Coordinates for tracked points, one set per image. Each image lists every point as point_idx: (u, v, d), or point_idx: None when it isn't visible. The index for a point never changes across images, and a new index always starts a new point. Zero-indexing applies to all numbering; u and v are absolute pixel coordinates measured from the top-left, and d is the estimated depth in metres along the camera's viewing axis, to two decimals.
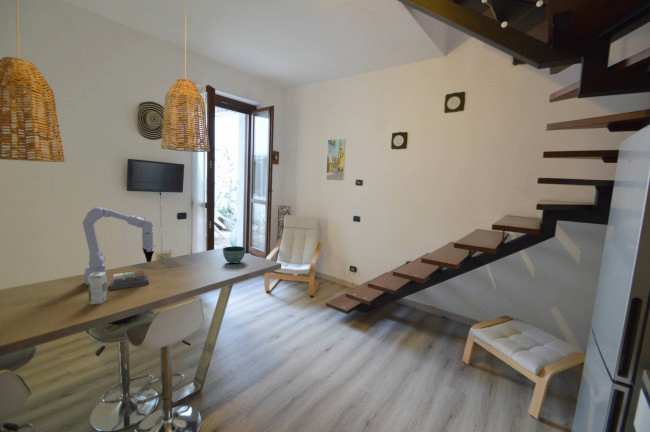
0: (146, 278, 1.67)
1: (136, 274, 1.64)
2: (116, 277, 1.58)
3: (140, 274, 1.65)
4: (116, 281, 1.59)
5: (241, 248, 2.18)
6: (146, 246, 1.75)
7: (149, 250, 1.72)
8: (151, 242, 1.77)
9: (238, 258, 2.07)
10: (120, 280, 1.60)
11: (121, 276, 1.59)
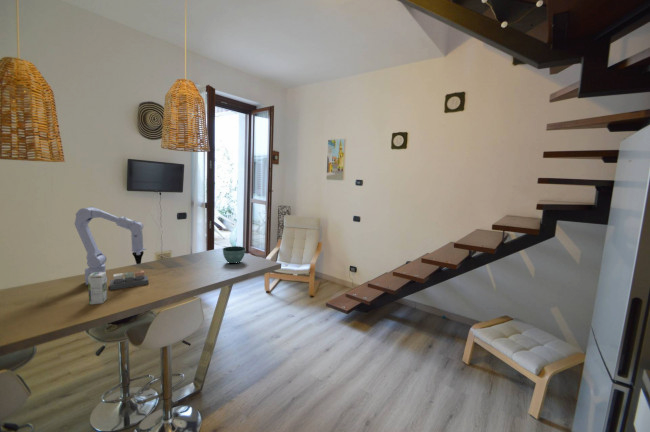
0: (146, 278, 1.67)
1: (136, 274, 1.64)
2: (116, 277, 1.58)
3: (140, 274, 1.65)
4: (116, 281, 1.59)
5: (241, 248, 2.18)
6: (136, 249, 1.68)
7: (138, 253, 1.66)
8: (141, 245, 1.70)
9: (238, 258, 2.07)
10: (120, 280, 1.60)
11: (121, 276, 1.59)
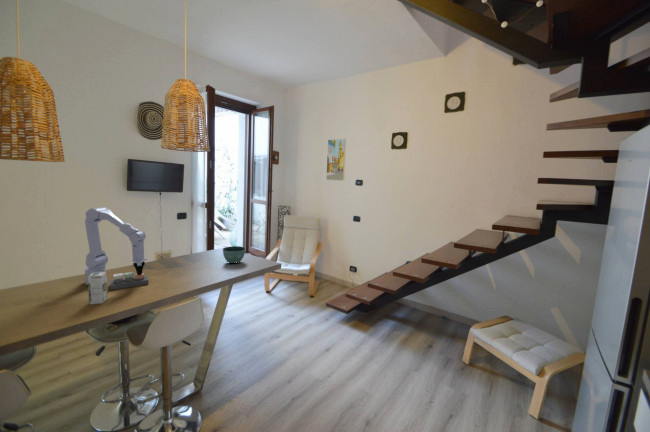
0: (146, 278, 1.67)
1: (136, 277, 1.64)
2: (116, 277, 1.58)
3: (140, 277, 1.65)
4: (116, 281, 1.59)
5: (241, 248, 2.18)
6: (137, 259, 1.62)
7: (140, 264, 1.60)
8: (142, 255, 1.64)
9: (238, 258, 2.07)
10: (120, 280, 1.60)
11: (121, 276, 1.59)
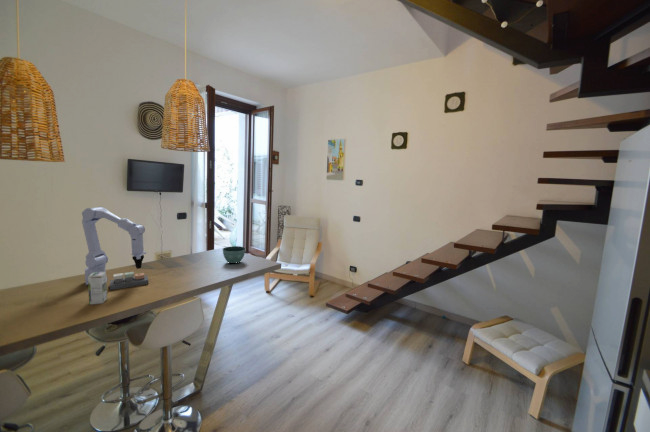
0: (146, 278, 1.67)
1: (136, 277, 1.64)
2: (116, 277, 1.58)
3: (140, 277, 1.65)
4: (116, 281, 1.59)
5: (241, 248, 2.18)
6: (136, 253, 1.62)
7: (139, 257, 1.59)
8: (141, 249, 1.64)
9: (238, 258, 2.07)
10: (120, 280, 1.60)
11: (121, 276, 1.59)
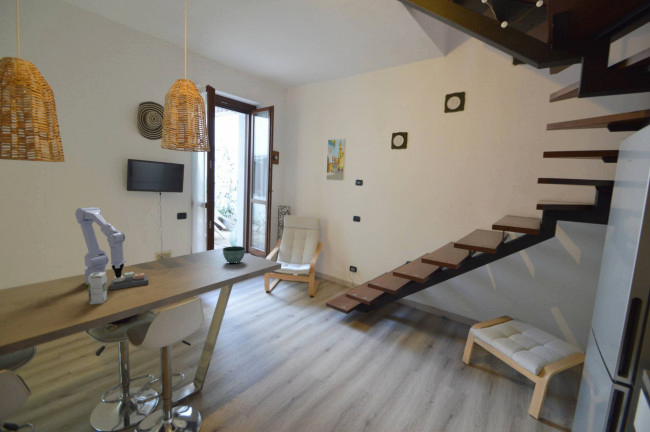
0: (146, 278, 1.67)
1: (136, 277, 1.64)
2: (116, 279, 1.58)
3: (140, 277, 1.65)
4: None
5: (241, 248, 2.18)
6: (115, 262, 1.57)
7: (118, 266, 1.54)
8: (121, 257, 1.58)
9: (238, 258, 2.07)
10: (120, 282, 1.60)
11: (121, 278, 1.60)
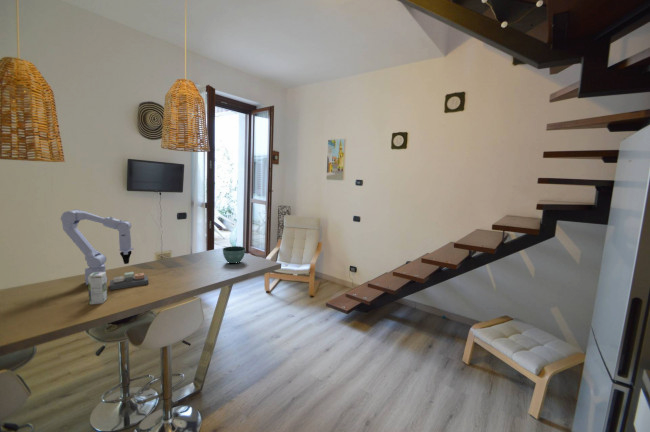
0: (146, 278, 1.67)
1: (136, 277, 1.64)
2: (116, 280, 1.58)
3: (140, 277, 1.65)
4: None
5: (241, 248, 2.18)
6: (123, 249, 1.66)
7: (126, 253, 1.64)
8: (129, 244, 1.68)
9: (238, 258, 2.07)
10: None
11: (121, 279, 1.60)
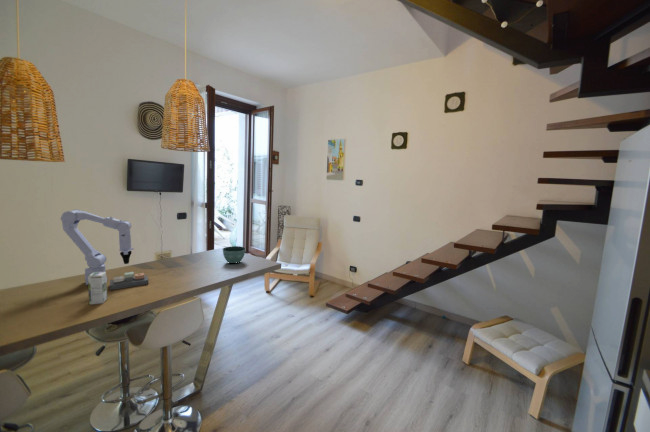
0: (146, 278, 1.67)
1: (136, 277, 1.64)
2: (116, 280, 1.58)
3: (140, 277, 1.65)
4: None
5: (241, 248, 2.18)
6: (123, 249, 1.66)
7: (126, 253, 1.64)
8: (129, 244, 1.68)
9: (238, 258, 2.07)
10: None
11: (121, 279, 1.60)
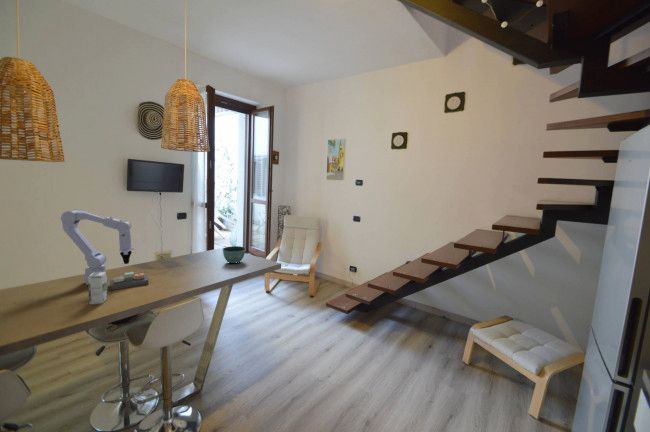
0: (146, 278, 1.67)
1: (136, 277, 1.64)
2: (116, 280, 1.58)
3: (140, 277, 1.65)
4: None
5: (241, 248, 2.18)
6: (123, 249, 1.66)
7: (126, 253, 1.64)
8: (129, 244, 1.68)
9: (238, 258, 2.07)
10: None
11: (121, 279, 1.60)
